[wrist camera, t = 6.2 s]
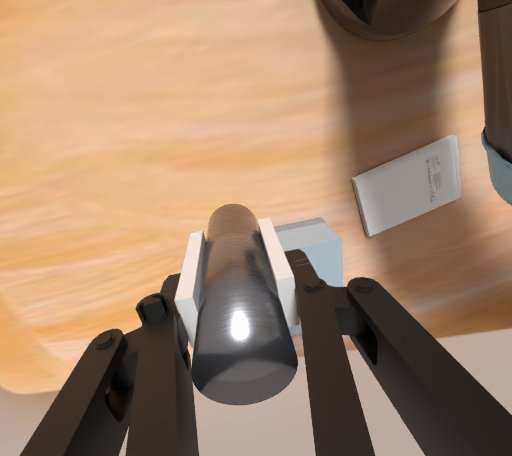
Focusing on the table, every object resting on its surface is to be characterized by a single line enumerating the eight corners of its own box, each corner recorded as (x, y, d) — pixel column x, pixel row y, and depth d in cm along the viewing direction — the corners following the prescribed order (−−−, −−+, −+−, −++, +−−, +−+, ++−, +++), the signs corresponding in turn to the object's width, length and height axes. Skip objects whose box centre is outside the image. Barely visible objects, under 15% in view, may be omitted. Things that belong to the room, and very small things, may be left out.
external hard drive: (348, 177, 32) (447, 134, 32) (363, 232, 36) (452, 195, 35) (355, 180, 31) (458, 135, 30) (370, 238, 34) (463, 198, 34)
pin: (203, 209, 19) (177, 344, 8) (252, 199, 19) (291, 319, 8) (214, 252, 21) (206, 414, 10) (260, 243, 21) (302, 392, 10)
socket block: (210, 240, 33) (208, 266, 27) (321, 217, 33) (341, 238, 28) (229, 315, 38) (232, 349, 32) (326, 293, 38) (344, 324, 33)
